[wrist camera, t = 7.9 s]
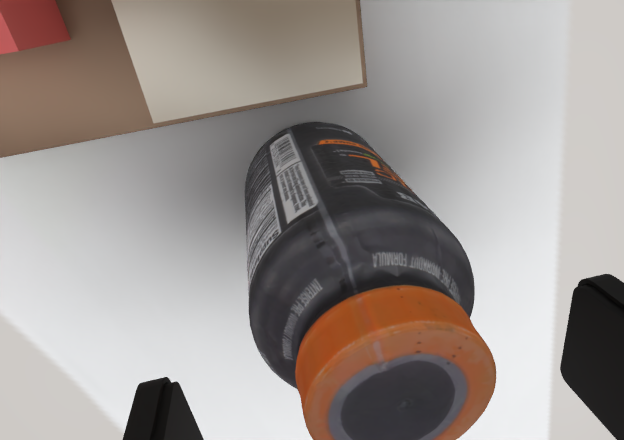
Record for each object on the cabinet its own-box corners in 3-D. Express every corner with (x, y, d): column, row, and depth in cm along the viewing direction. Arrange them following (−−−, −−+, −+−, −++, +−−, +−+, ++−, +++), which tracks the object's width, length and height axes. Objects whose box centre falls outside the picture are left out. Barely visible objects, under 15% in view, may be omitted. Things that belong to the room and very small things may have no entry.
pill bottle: (405, 179, 18) (600, 380, 9) (315, 267, 20) (393, 528, 10) (310, 87, 16) (429, 221, 6) (214, 195, 17) (185, 447, 8)
